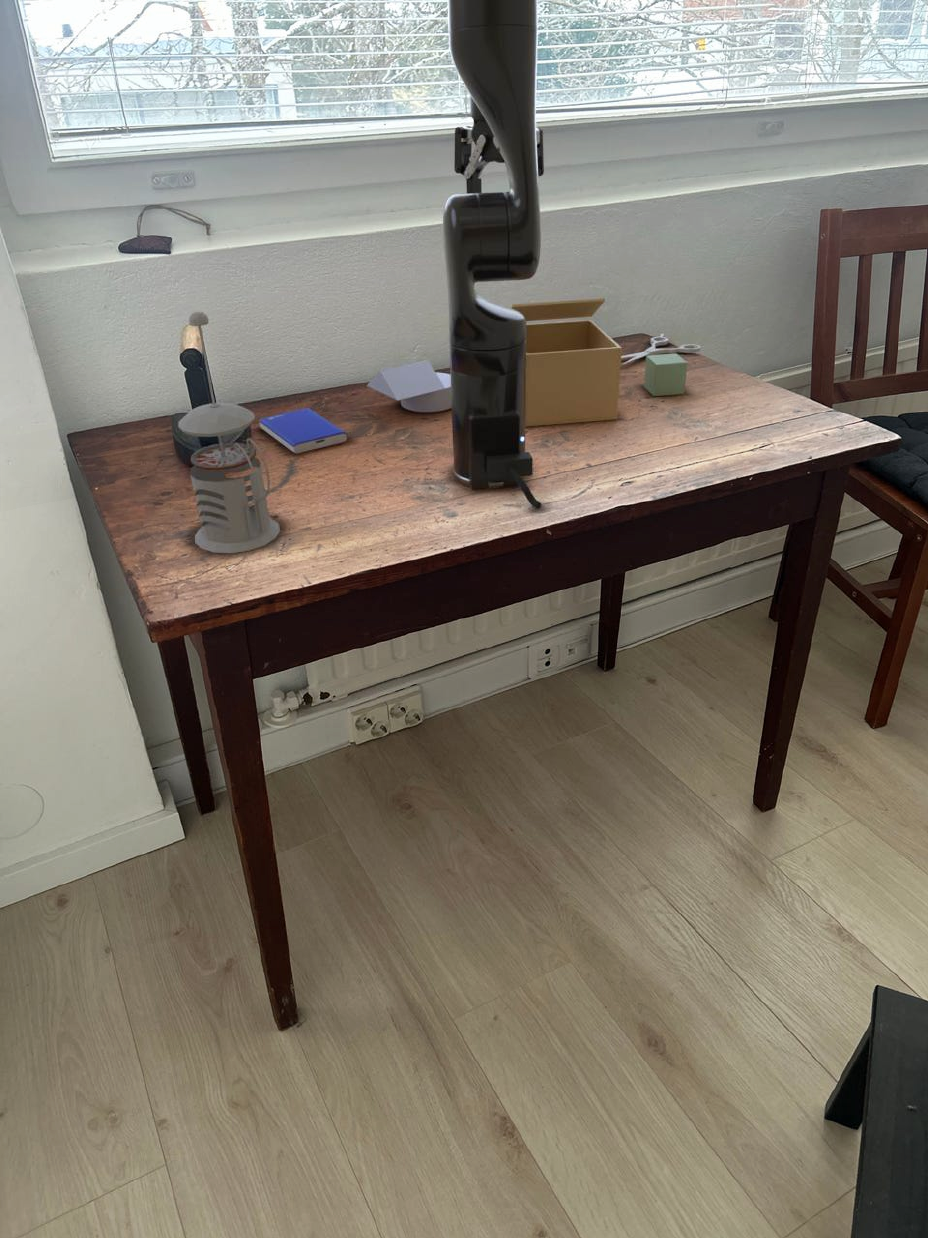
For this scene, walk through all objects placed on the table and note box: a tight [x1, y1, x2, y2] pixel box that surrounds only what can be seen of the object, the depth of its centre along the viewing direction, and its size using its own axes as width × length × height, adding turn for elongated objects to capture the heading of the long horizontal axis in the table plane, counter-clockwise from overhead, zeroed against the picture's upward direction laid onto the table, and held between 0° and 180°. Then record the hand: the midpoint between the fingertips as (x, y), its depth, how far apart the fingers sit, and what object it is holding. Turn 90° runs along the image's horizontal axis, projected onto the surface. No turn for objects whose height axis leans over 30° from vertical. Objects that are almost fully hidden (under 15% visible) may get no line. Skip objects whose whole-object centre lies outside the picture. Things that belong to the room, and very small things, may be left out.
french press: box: [177, 311, 281, 554], centre depth 96 cm, size 10×12×25 cm
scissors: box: [621, 333, 701, 366], centre depth 158 cm, size 11×1×20 cm
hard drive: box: [258, 407, 348, 454], centre depth 129 cm, size 2×8×12 cm
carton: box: [525, 319, 623, 428], centre depth 135 cm, size 16×14×10 cm
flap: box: [510, 297, 606, 322], centre depth 134 cm, size 8×14×1 cm
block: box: [643, 352, 689, 397], centre depth 141 cm, size 5×5×5 cm
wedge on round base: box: [366, 359, 452, 413], centre depth 138 cm, size 9×7×13 cm
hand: (498, 208), depth 130 cm, fingers open, 8 cm apart
